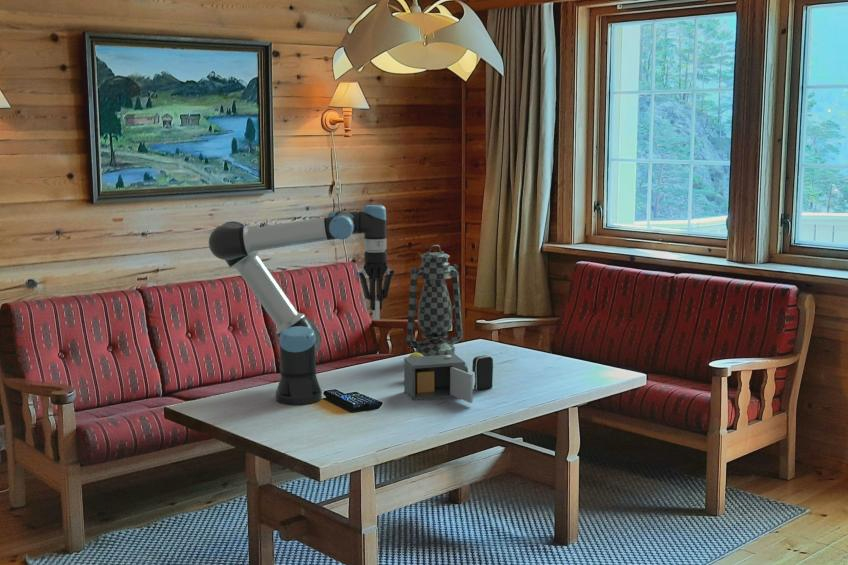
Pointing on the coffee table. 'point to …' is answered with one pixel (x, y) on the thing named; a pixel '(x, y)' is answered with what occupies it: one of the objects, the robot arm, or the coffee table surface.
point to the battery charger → (483, 372)
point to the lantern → (434, 305)
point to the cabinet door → (461, 384)
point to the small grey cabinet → (430, 376)
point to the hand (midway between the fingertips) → (376, 319)
